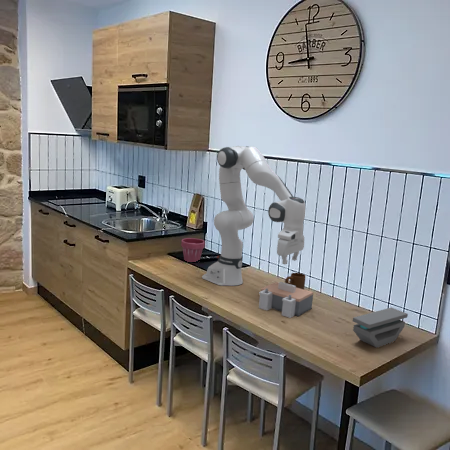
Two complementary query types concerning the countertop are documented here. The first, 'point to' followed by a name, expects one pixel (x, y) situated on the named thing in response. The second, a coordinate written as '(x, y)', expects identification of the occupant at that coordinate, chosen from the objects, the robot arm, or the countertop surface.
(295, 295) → the door
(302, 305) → the cabinet
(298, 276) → the mug
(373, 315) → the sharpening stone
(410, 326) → the countertop surface
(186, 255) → the plant pot
